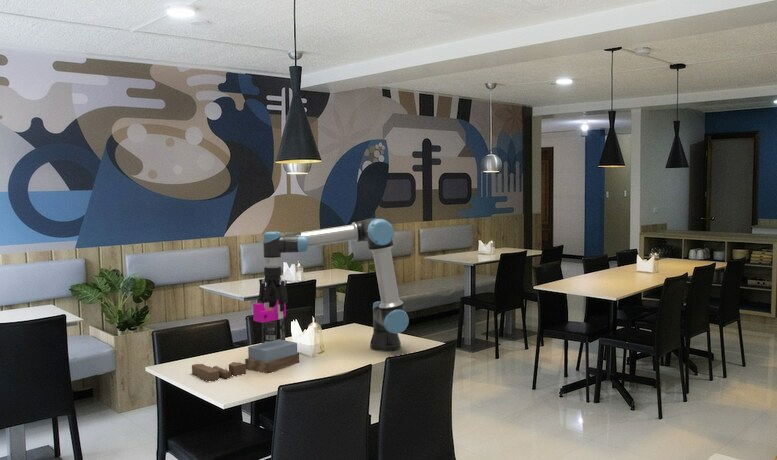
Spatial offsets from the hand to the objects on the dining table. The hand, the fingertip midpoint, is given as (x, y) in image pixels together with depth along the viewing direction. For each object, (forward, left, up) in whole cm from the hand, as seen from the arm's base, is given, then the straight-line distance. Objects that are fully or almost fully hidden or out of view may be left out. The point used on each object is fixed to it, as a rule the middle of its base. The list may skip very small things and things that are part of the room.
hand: (273, 317), depth 287 cm
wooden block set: (+13, +21, -22) cm, 33 cm away
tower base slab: (+1, +1, -22) cm, 22 cm away
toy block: (0, +1, -1) cm, 1 cm away
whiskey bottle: (+18, -21, -22) cm, 35 cm away
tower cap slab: (0, 0, -17) cm, 17 cm away
